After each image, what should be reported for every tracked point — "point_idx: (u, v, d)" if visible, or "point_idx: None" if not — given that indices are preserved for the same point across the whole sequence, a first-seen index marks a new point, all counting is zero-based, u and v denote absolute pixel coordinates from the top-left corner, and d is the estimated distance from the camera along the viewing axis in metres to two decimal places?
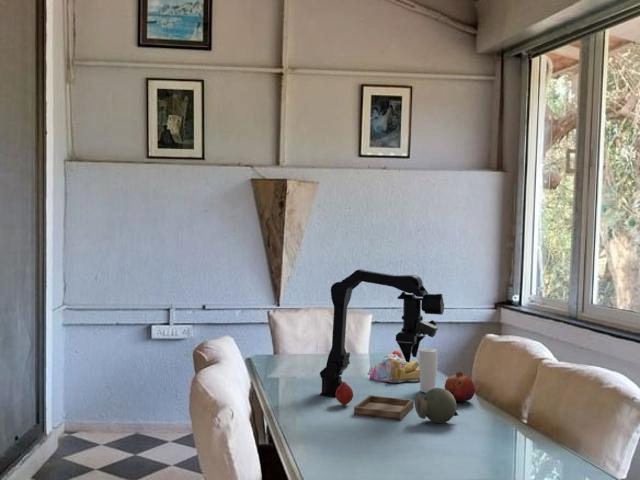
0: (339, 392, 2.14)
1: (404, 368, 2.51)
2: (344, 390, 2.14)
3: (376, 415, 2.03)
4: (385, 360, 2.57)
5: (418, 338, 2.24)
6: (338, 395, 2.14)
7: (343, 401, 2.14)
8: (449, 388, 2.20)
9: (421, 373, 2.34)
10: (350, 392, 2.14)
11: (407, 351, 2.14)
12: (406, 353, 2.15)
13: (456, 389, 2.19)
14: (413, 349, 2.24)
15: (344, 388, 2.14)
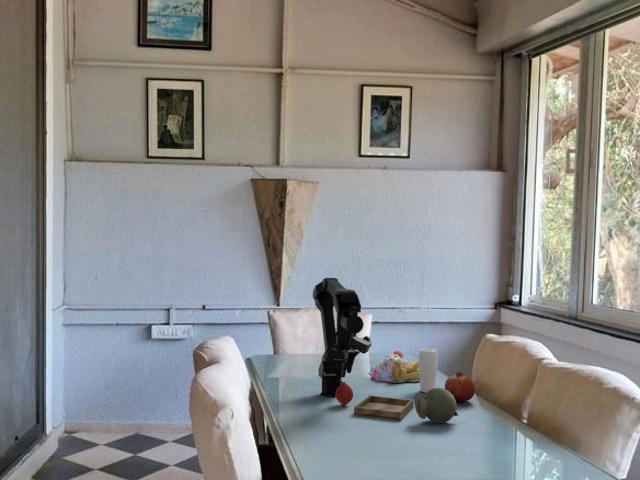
0: (339, 392, 2.14)
1: (405, 368, 2.51)
2: (344, 390, 2.14)
3: (376, 415, 2.03)
4: (386, 360, 2.56)
5: (353, 354, 2.20)
6: (338, 395, 2.14)
7: (343, 401, 2.14)
8: (449, 388, 2.20)
9: (421, 373, 2.34)
10: (350, 392, 2.14)
11: (338, 368, 2.11)
12: (337, 370, 2.11)
13: (456, 389, 2.19)
14: (348, 365, 2.20)
15: (344, 388, 2.14)
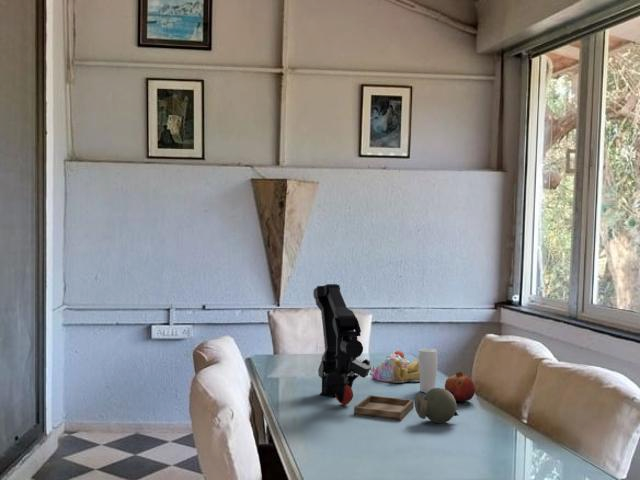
0: None
1: (407, 368, 2.51)
2: (344, 390, 2.14)
3: (376, 415, 2.03)
4: (387, 360, 2.56)
5: (351, 378, 2.19)
6: None
7: (343, 401, 2.14)
8: (449, 388, 2.20)
9: (421, 373, 2.34)
10: (350, 392, 2.14)
11: (340, 391, 2.12)
12: (339, 393, 2.12)
13: (456, 389, 2.19)
14: None
15: None
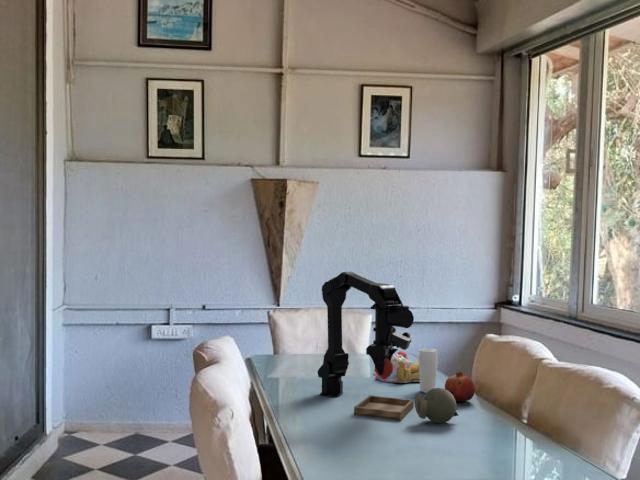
0: None
1: (410, 368, 2.51)
2: None
3: (376, 415, 2.03)
4: None
5: (390, 351, 2.13)
6: None
7: (382, 375, 2.08)
8: (449, 388, 2.20)
9: (421, 373, 2.34)
10: (390, 365, 2.08)
11: (380, 364, 2.06)
12: (379, 366, 2.06)
13: (456, 389, 2.19)
14: None
15: None
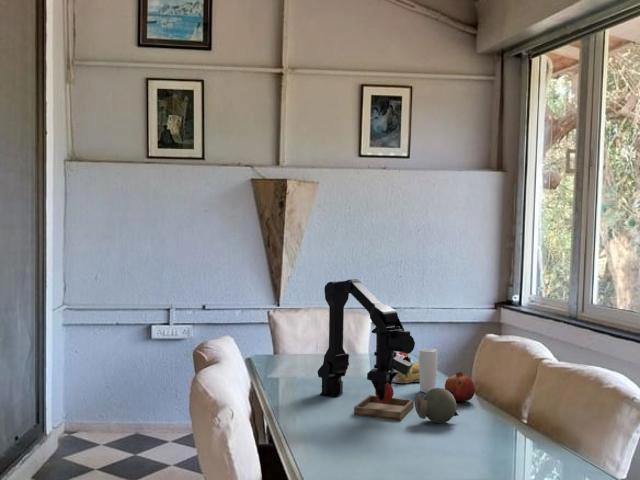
0: None
1: (411, 369, 2.50)
2: None
3: (376, 415, 2.03)
4: None
5: (391, 375, 2.13)
6: None
7: (383, 399, 2.08)
8: (449, 388, 2.20)
9: (421, 373, 2.34)
10: (390, 390, 2.08)
11: (380, 388, 2.06)
12: (379, 390, 2.06)
13: (456, 389, 2.19)
14: None
15: None
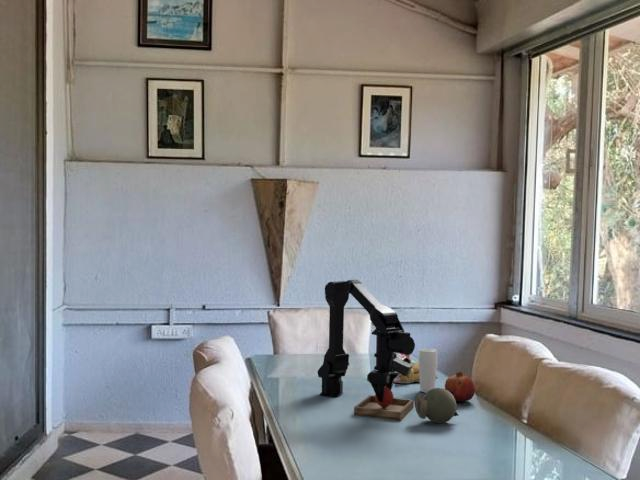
0: None
1: (413, 369, 2.50)
2: (384, 393, 2.08)
3: (376, 415, 2.03)
4: None
5: (392, 376, 2.14)
6: None
7: (383, 404, 2.08)
8: (449, 388, 2.20)
9: (421, 373, 2.34)
10: (390, 395, 2.08)
11: (380, 391, 2.05)
12: (379, 393, 2.05)
13: (456, 389, 2.19)
14: None
15: None
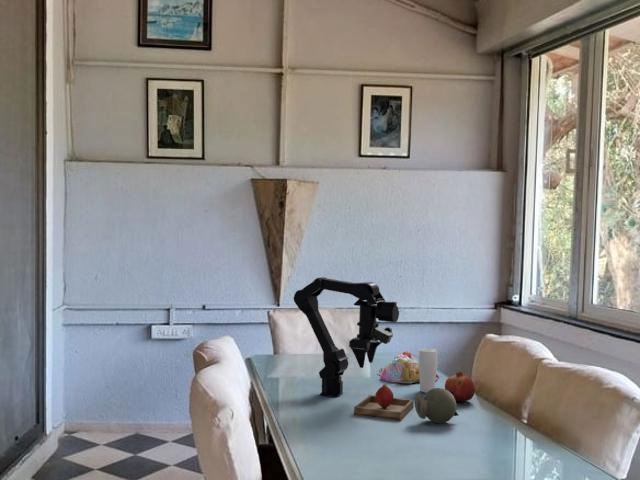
0: (379, 395, 2.08)
1: (415, 369, 2.50)
2: (384, 393, 2.08)
3: (376, 415, 2.03)
4: (395, 361, 2.55)
5: (374, 344, 2.28)
6: (378, 398, 2.08)
7: (383, 404, 2.08)
8: (449, 388, 2.20)
9: (421, 373, 2.34)
10: (390, 395, 2.08)
11: (361, 357, 2.19)
12: (360, 359, 2.19)
13: (456, 389, 2.19)
14: (369, 355, 2.28)
15: (384, 390, 2.08)
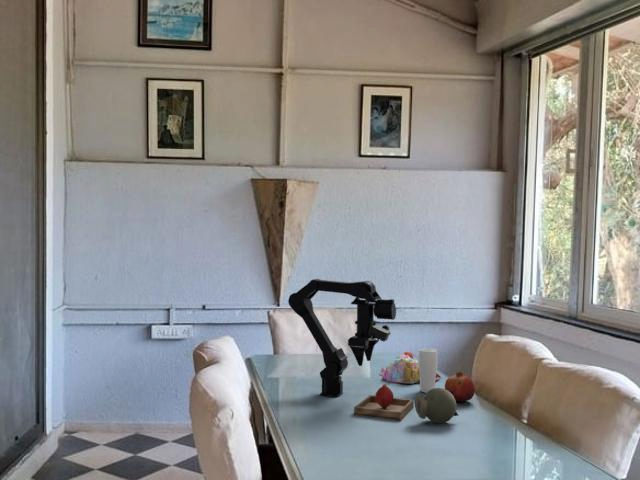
0: (379, 395, 2.08)
1: (416, 369, 2.50)
2: (384, 393, 2.08)
3: (376, 415, 2.03)
4: (397, 361, 2.55)
5: (372, 342, 2.30)
6: (378, 398, 2.08)
7: (383, 404, 2.08)
8: (449, 388, 2.20)
9: (421, 373, 2.34)
10: (390, 395, 2.08)
11: (359, 355, 2.21)
12: (358, 357, 2.21)
13: (456, 389, 2.19)
14: (367, 353, 2.30)
15: (384, 390, 2.08)
